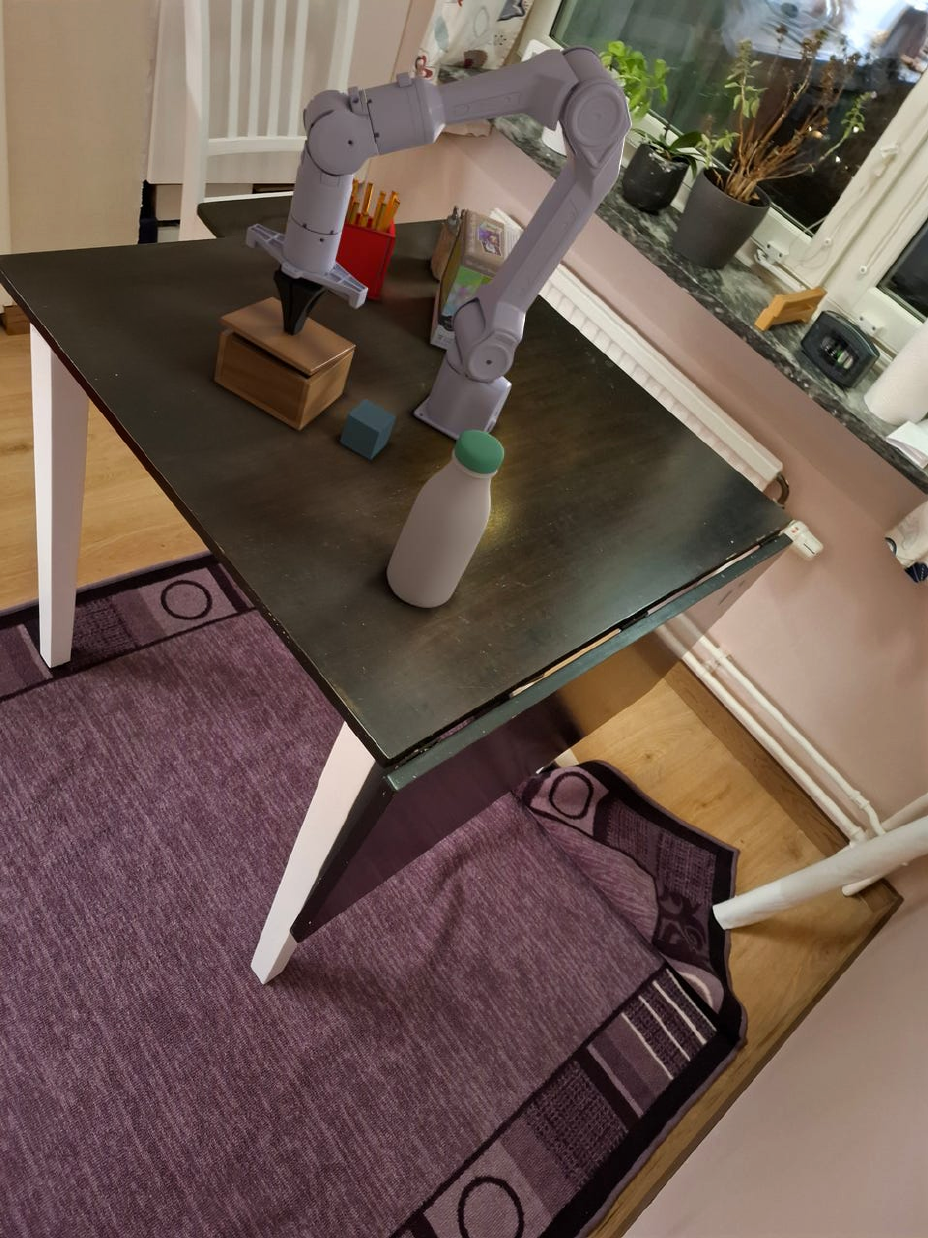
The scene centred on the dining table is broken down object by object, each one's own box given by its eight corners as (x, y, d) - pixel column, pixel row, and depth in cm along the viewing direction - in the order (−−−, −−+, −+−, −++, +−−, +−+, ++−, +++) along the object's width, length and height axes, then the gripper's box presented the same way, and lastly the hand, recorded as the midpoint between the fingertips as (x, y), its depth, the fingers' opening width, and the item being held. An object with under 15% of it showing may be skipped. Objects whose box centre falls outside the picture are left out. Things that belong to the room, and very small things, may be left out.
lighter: (453, 285, 135) (474, 227, 128) (431, 279, 134) (451, 220, 127) (449, 263, 139) (469, 206, 132) (428, 257, 138) (447, 199, 131)
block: (386, 443, 104) (396, 416, 100) (370, 460, 101) (379, 432, 97) (356, 426, 104) (365, 398, 101) (339, 442, 101) (347, 413, 98)
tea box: (491, 366, 123) (530, 277, 113) (428, 345, 121) (461, 251, 110) (492, 315, 133) (528, 228, 123) (434, 294, 131) (465, 204, 120)
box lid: (309, 376, 93) (311, 370, 92) (218, 322, 93) (220, 316, 93) (354, 350, 102) (355, 345, 101) (271, 301, 102) (272, 296, 102)
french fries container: (316, 262, 125) (337, 169, 115) (375, 277, 128) (400, 189, 118) (317, 287, 121) (338, 193, 111) (377, 302, 124) (403, 212, 114)
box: (298, 431, 99) (310, 385, 94) (214, 380, 100) (220, 332, 95) (341, 394, 107) (354, 350, 102) (262, 347, 107) (271, 301, 102)
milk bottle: (443, 620, 88) (514, 485, 74) (376, 593, 87) (434, 451, 73) (458, 572, 94) (527, 438, 79) (395, 546, 93) (453, 405, 78)
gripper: (236, 195, 85) (220, 310, 95) (356, 265, 84) (327, 373, 94) (274, 179, 90) (255, 290, 100) (387, 245, 89) (357, 350, 99)
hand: (292, 329), depth 97 cm, fingers closed
